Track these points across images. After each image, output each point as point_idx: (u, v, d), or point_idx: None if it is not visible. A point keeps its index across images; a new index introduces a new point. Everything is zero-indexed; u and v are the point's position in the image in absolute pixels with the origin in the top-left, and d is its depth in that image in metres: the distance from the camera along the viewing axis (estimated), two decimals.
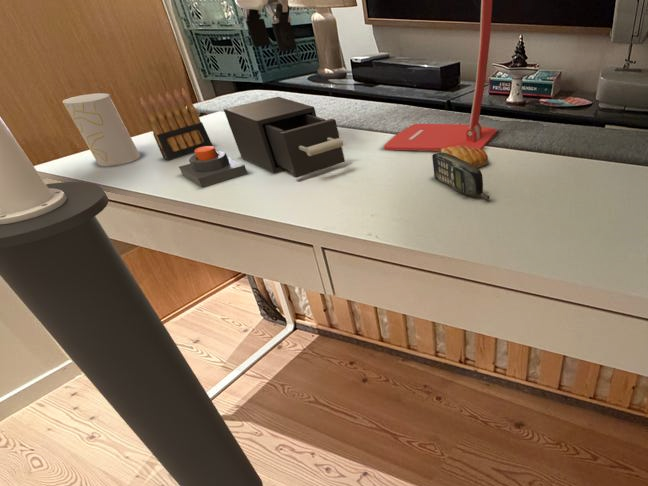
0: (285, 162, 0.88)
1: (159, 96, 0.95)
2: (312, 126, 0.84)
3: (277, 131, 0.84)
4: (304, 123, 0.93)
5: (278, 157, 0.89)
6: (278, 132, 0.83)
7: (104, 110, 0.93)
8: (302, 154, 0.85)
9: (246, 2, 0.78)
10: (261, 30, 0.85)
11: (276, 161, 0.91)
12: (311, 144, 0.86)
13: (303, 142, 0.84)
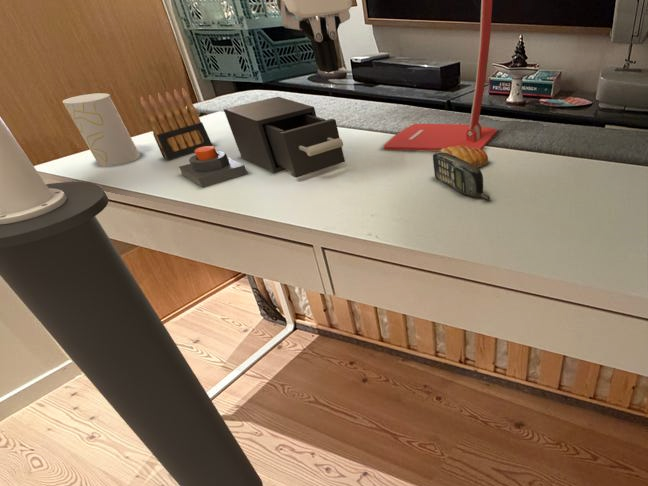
0: (285, 162, 0.88)
1: (159, 96, 0.95)
2: (312, 126, 0.84)
3: (277, 131, 0.84)
4: (304, 123, 0.93)
5: (278, 157, 0.89)
6: (278, 132, 0.83)
7: (105, 110, 0.93)
8: (302, 154, 0.85)
9: (325, 6, 0.65)
10: None
11: (276, 161, 0.91)
12: (311, 144, 0.86)
13: (303, 142, 0.84)
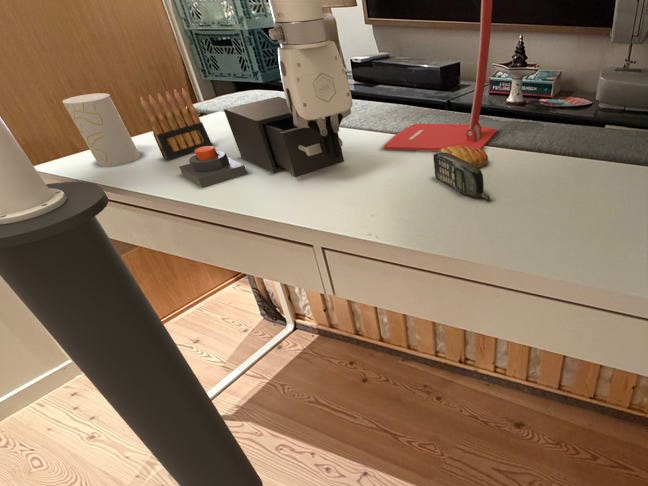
0: (284, 162, 0.88)
1: (159, 96, 0.95)
2: None
3: (276, 131, 0.84)
4: None
5: (278, 157, 0.89)
6: (278, 132, 0.84)
7: (105, 110, 0.93)
8: (301, 154, 0.85)
9: (330, 109, 0.77)
10: None
11: (275, 161, 0.91)
12: (310, 144, 0.86)
13: (302, 142, 0.84)
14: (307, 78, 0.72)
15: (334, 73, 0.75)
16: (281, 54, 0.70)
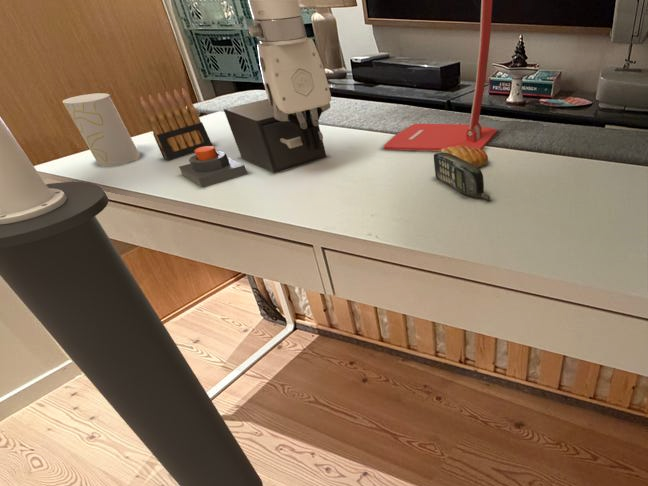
0: None
1: (159, 96, 0.95)
2: None
3: None
4: None
5: None
6: None
7: (105, 110, 0.93)
8: (283, 146, 0.89)
9: (309, 103, 0.80)
10: None
11: None
12: (292, 137, 0.89)
13: (284, 135, 0.88)
14: (286, 73, 0.76)
15: (312, 68, 0.78)
16: (260, 50, 0.74)
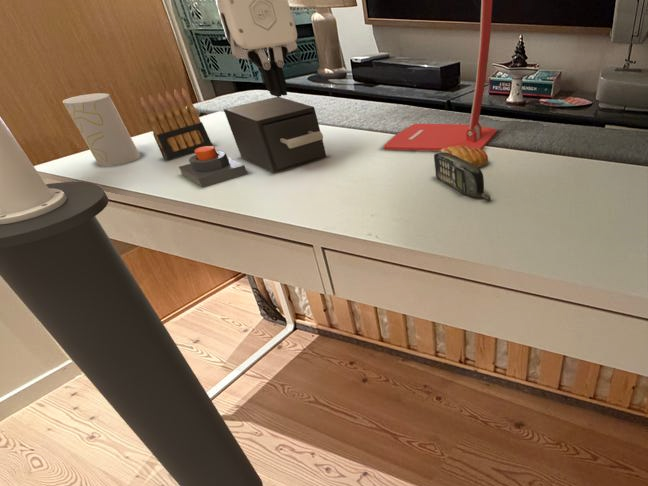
0: None
1: (159, 96, 0.95)
2: (293, 120, 0.88)
3: None
4: None
5: None
6: None
7: (105, 110, 0.93)
8: (283, 146, 0.89)
9: (271, 39, 0.72)
10: None
11: None
12: (292, 137, 0.89)
13: (284, 135, 0.88)
14: (242, 1, 0.67)
15: None
16: None
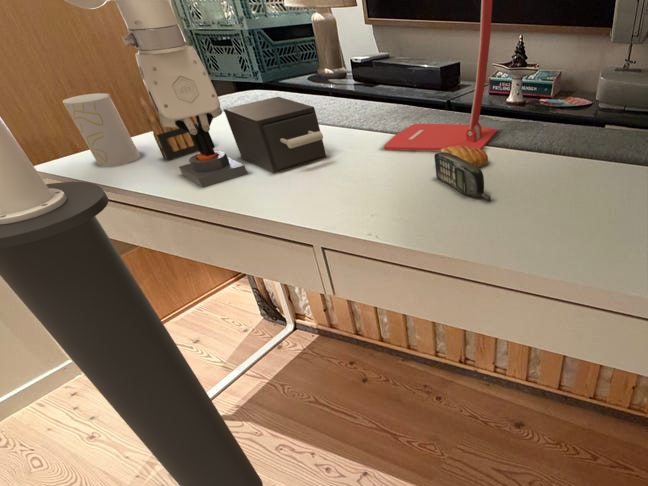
0: None
1: None
2: (293, 120, 0.88)
3: None
4: None
5: None
6: None
7: (104, 110, 0.93)
8: (283, 146, 0.89)
9: (195, 110, 0.82)
10: None
11: None
12: (292, 137, 0.89)
13: (284, 135, 0.88)
14: (165, 81, 0.78)
15: (195, 76, 0.80)
16: (137, 59, 0.76)
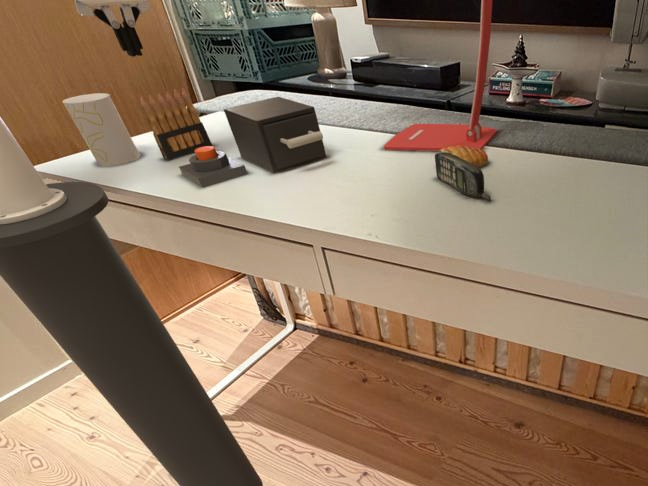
0: None
1: (159, 96, 0.95)
2: (293, 120, 0.88)
3: None
4: None
5: None
6: None
7: (105, 110, 0.93)
8: (283, 146, 0.89)
9: None
10: None
11: None
12: (292, 137, 0.89)
13: (284, 135, 0.88)
14: None
15: None
16: None
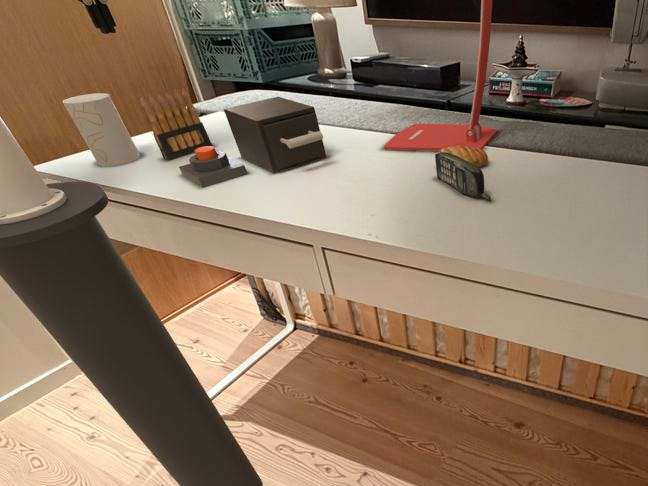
0: None
1: (159, 96, 0.95)
2: (293, 120, 0.88)
3: None
4: None
5: None
6: None
7: (104, 110, 0.93)
8: (283, 146, 0.89)
9: None
10: None
11: None
12: (292, 137, 0.89)
13: (284, 135, 0.88)
14: None
15: None
16: None
